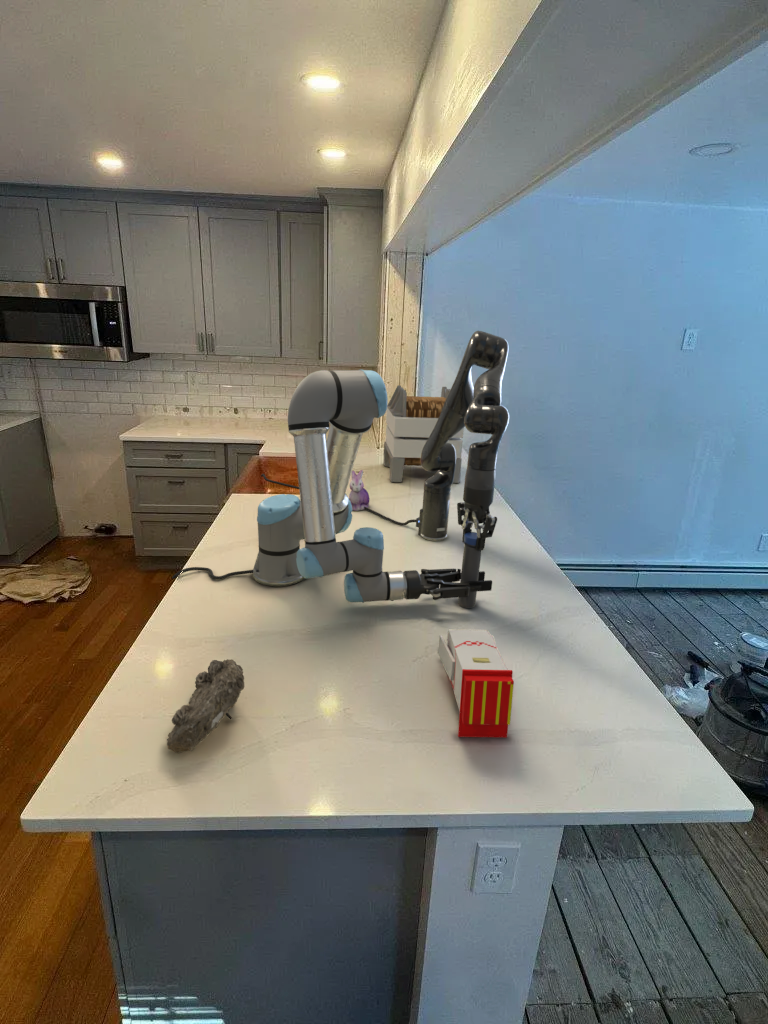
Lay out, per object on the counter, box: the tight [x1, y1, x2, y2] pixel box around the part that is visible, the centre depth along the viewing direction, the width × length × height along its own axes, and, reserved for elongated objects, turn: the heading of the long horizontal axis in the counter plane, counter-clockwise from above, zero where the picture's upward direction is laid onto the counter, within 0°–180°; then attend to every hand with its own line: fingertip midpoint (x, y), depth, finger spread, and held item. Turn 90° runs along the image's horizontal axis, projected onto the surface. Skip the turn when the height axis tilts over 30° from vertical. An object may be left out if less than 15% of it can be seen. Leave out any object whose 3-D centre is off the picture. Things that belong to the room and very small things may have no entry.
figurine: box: [348, 469, 370, 511], centre depth 222 cm, size 9×10×15 cm
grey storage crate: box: [383, 384, 465, 484], centre depth 268 cm, size 34×33×41 cm
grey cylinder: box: [457, 543, 482, 609], centre depth 151 cm, size 5×5×19 cm
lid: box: [464, 531, 477, 545], centre depth 148 cm, size 5×5×2 cm
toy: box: [437, 628, 515, 738], centre depth 117 cm, size 12×13×30 cm
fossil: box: [166, 658, 245, 754], centre depth 106 cm, size 22×10×15 cm
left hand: (487, 580), depth 153 cm, fingers closed on grey cylinder, 5 cm apart
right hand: (472, 546), depth 148 cm, fingers closed on lid, 5 cm apart
